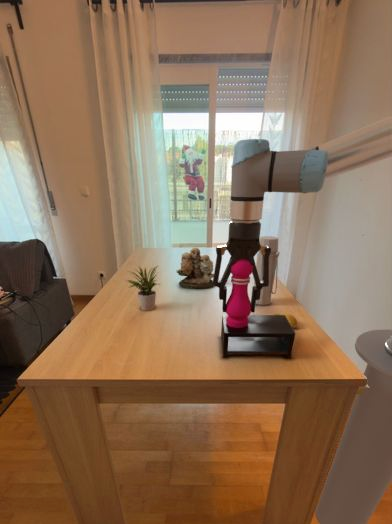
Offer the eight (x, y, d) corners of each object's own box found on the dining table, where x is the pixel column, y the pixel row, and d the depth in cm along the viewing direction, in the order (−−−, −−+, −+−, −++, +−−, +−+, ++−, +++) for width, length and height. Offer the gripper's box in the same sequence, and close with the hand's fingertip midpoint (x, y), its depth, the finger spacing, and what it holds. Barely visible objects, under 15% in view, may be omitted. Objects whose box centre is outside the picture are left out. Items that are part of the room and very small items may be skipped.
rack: (280, 338, 90) (284, 314, 86) (290, 358, 79) (295, 333, 75) (221, 337, 90) (222, 314, 86) (223, 358, 80) (224, 333, 76)
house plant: (145, 297, 120) (141, 258, 112) (173, 303, 115) (171, 262, 106) (123, 309, 110) (117, 267, 101) (152, 316, 104) (148, 272, 96)
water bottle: (248, 303, 114) (254, 238, 101) (258, 297, 120) (265, 235, 107) (269, 309, 109) (278, 241, 96) (278, 303, 115) (288, 237, 102)
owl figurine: (177, 290, 128) (175, 251, 119) (176, 282, 138) (175, 245, 130) (216, 288, 130) (217, 250, 121) (213, 280, 140) (213, 244, 131)
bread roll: (300, 329, 95) (303, 318, 93) (276, 331, 93) (277, 321, 91) (288, 318, 102) (290, 308, 100) (265, 321, 100) (266, 310, 98)
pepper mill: (255, 323, 81) (263, 251, 70) (238, 331, 76) (244, 256, 66) (236, 315, 85) (241, 246, 75) (219, 322, 81) (222, 250, 71)
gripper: (284, 218, 70) (271, 305, 82) (202, 218, 70) (202, 304, 82) (292, 222, 63) (277, 316, 75) (202, 223, 64) (202, 315, 76)
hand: (238, 310), depth 79 cm, fingers closed on pepper mill, 7 cm apart
